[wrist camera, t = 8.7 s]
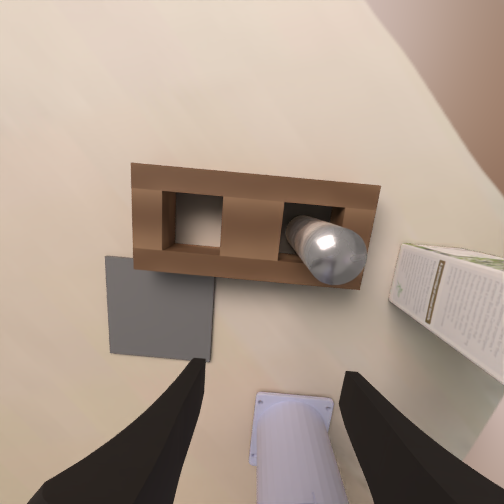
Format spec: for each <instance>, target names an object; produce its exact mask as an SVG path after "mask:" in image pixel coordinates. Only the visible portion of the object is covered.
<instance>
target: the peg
mask: <svg viewBox="0 0 504 504" xmlns="http://www.w3.org/2000/svg"><path fill="white" fill-rule="evenodd" d="M286 238H287V241H288V242H289V244H290V245H291V246H292V248H293V249H294V250H295V252H296V253H297V254H298V256H299V257H300V258H301V260H302V261H303V262H304V264H305V265H306V266H307V268H308V269H309V270H310V272H311V273H312V274H313V276H314V277H315V278H316V279H318V280H319V281H321V282H323V283H325V284H329V285H341V284H345V283H347V282H350V281H351V280H353V279H354V278H356V277H357V276H358V275H359V274H360V273H361V271H362V270H363V268H364V266H365V263H366V259H367V249H366V245H365V243H364V241H363V239H362V238H361V237H360V236H359V235H358V234H357V233H356V232H354V231H352V230H350V229H347V228H344V227H341V226H338V225H335V224H332V223H329V222H325V221H322V220H319V219H316V218H313V217H310V216H307V215H300V216H297V217H295V218H293V219H292V220H291V221H290V222H289V223H288V225H287V227H286Z"/></svg>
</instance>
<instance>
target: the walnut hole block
mask: <svg viewBox="0 0 504 504" xmlns="http://www.w3.org/2000/svg"><path fill="white" fill-rule="evenodd" d="M131 189H132V228H133V267H134V269H135V270H146V271H157V272H168V273H179V274H190V275H201V276H212V277H223V278H234V279H245V280H256V281H267V282H278V283H289V284H300V285H311V286H322V287H333V288H344V289H354V290H360V286H361V281H362V276H363V271H364V268H363V270H362V271H361V273H360V274H359V275H358V276H357V277H356V278H354V279H353V280H351V281H350V282H347V283H345V284H341V285H329V284H325V283H323V282H321V281H319V280H318V279H316V278H315V277H314V276H313V274H312V273H311V272H310V270H309V269H308V268H307V266H306V265H305V264H304V262H303V261H302V260H301V258H300V257H299V256H298V254H287V253H278V252H279V244H280V235H281V227H282V218H283V210H284V202H290V203H301V204H312V205H323V206H332V212H331V218H330V223H332V224H335V225H338V226H341V227H344V228H347V229H350V230H352V231H354V232H356V233H357V234H358V235H359V236H360V237H361V238H362V239H363V241H364V243H365V245H366V249H367V252H368V247H369V242H370V237H371V232H372V228H373V223H374V218H375V213H376V208H377V203H378V198H379V194H380V189H381V186H379V185H368V184H357V183H346V182H336V181H325V180H314V179H303V178H292V177H281V176H270V175H259V174H249V173H238V172H227V171H216V170H205V169H194V168H183V167H173V166H162V165H151V164H140V163H131ZM176 192H181V193H192V194H203V195H214V196H223V209H222V226H221V243H220V247H210V246H200V245H189V244H178V243H175V218H176Z"/></svg>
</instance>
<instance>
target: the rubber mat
mask: <svg viewBox="0 0 504 504" xmlns="http://www.w3.org/2000/svg"><path fill="white" fill-rule="evenodd" d="M105 268H106V287H107V305H108V324H109V343H110V353H115V354H126V355H137V356H148V357H159V358H170V359H181V360H192V359H193V358H203V359H206V362H210V354H211V336H212V319H213V301H214V283H215V277H212V276H201V275H190V274H179V273H168V272H157V271H146V270H135V269H134V267H133V258H126V257H115V256H105Z"/></svg>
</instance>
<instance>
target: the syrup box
mask: <svg viewBox="0 0 504 504" xmlns="http://www.w3.org/2000/svg"><path fill="white" fill-rule="evenodd" d="M389 301H390V302H392V303H393V304H394V305H396V306H397V307H398V308H400V309H401V310H403V311H404V312H405V313H407V314H408V315H409V316H411V317H412V318H413V319H415V320H416V321H417V322H419V323H420V324H421V325H423V326H424V327H425V328H427V329H428V330H429V331H431V332H432V333H433V334H435V335H436V336H438V337H439V338H440V339H442V340H443V341H444V342H446V343H447V344H449V345H450V346H451V347H453V348H454V349H455V350H457V351H458V352H459V353H461V354H462V355H464V356H465V357H466V358H468V359H469V360H470V361H472V362H473V363H474V364H476V365H477V366H478V367H480V368H481V369H483V370H484V371H485V372H487V373H488V374H489V375H491V376H492V377H493V378H495V379H496V380H497V381H499V382H500V383H501V384H503V385H504V257H500V256H495V255H491V254H486V253H481V252H477V251H472V250H468V249H463V248H455V247H441V246H430V245H419V244H408V243H403V244H401V247H400V251H399V255H398V259H397V263H396V267H395V271H394V276H393V281H392V285H391V290H390V295H389Z"/></svg>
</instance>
